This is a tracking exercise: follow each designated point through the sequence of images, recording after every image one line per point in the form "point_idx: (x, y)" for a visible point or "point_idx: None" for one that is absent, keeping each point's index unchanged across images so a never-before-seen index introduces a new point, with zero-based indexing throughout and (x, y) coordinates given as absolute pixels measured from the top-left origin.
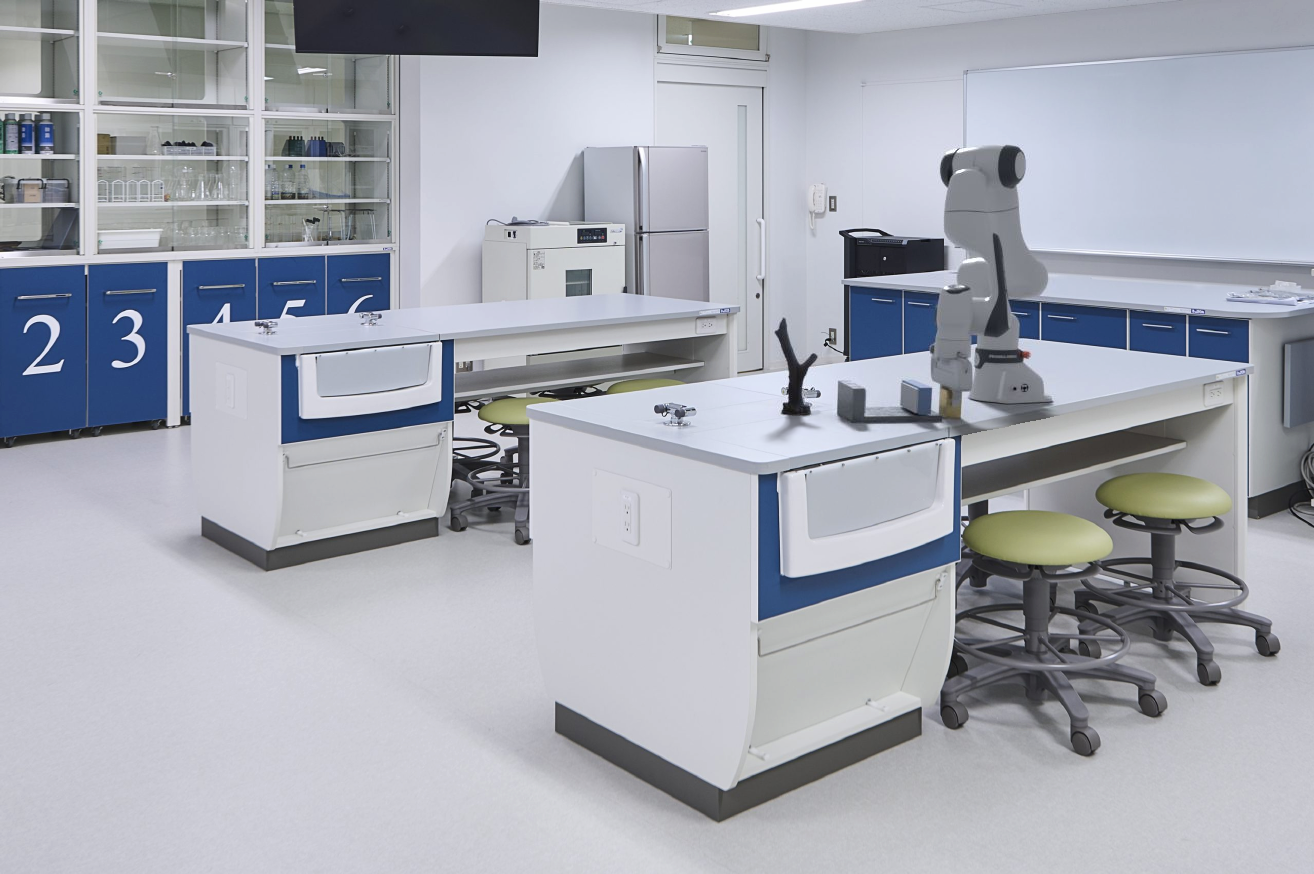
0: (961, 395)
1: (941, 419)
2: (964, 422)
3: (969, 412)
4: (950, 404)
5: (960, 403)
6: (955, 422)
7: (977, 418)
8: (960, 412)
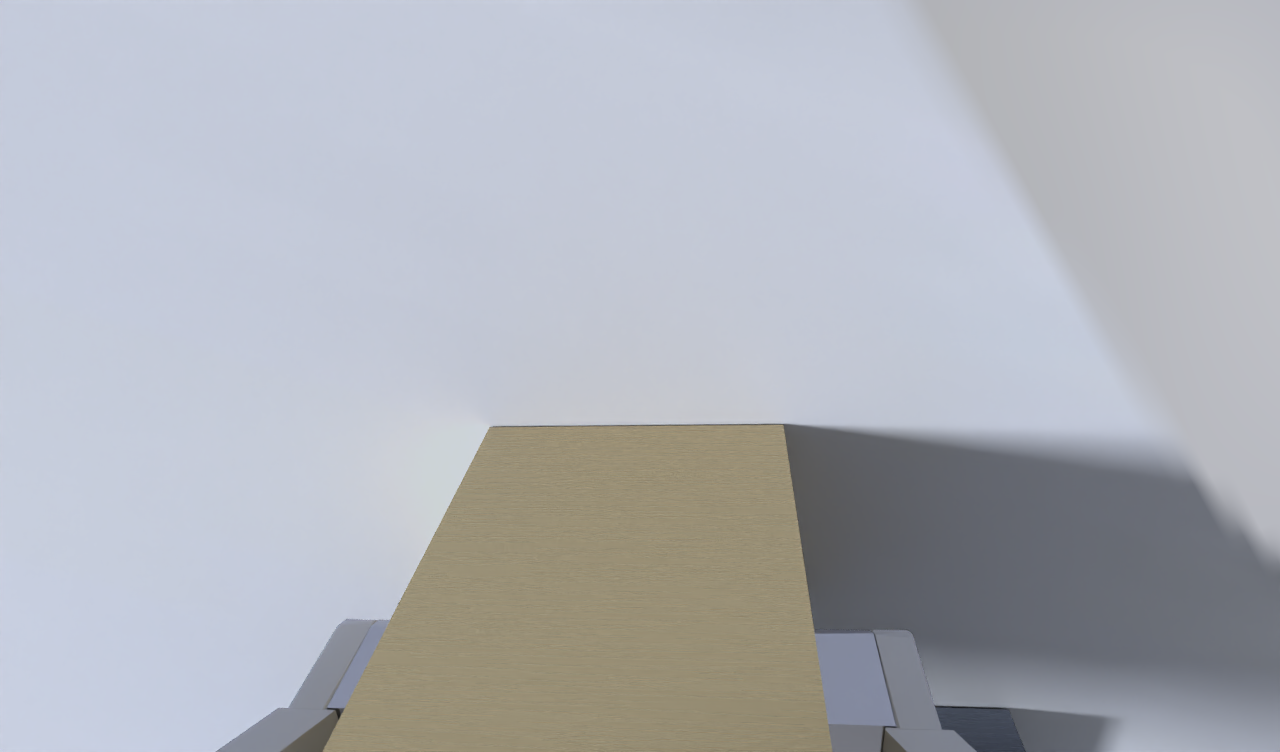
0: (825, 723)
1: (1014, 736)
2: (1165, 493)
3: (222, 102)
4: None
5: (801, 591)
6: (1123, 597)
7: (852, 173)
8: (789, 479)
